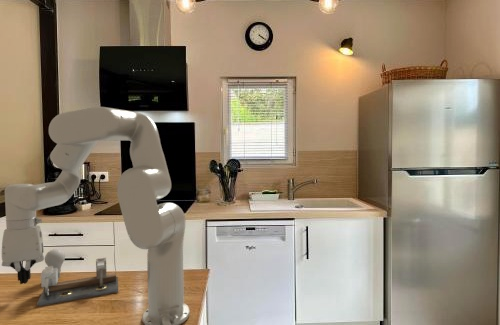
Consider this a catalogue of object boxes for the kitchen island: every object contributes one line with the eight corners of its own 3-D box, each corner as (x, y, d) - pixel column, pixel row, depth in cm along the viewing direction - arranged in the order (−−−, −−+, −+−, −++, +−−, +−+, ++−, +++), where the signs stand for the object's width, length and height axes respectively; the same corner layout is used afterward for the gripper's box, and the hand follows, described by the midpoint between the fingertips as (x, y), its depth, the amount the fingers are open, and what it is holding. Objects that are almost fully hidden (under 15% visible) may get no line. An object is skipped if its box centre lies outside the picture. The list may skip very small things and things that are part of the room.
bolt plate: (118, 292, 101) (118, 288, 101) (37, 306, 92) (37, 302, 92) (117, 279, 110) (117, 276, 110) (44, 292, 101) (44, 287, 101)
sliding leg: (54, 294, 96) (53, 272, 96) (39, 297, 94) (38, 274, 94) (58, 284, 103) (57, 264, 102) (43, 287, 101) (42, 265, 101)
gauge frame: (116, 285, 103) (115, 263, 103) (41, 298, 95) (40, 274, 94) (116, 277, 110) (115, 256, 109) (45, 288, 101) (44, 265, 101)
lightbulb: (54, 275, 114) (52, 246, 113) (69, 276, 113) (68, 246, 113) (41, 283, 108) (39, 252, 107) (57, 284, 107) (56, 252, 106)
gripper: (52, 218, 103) (54, 273, 104) (-5, 223, 97) (-2, 281, 98) (48, 224, 96) (50, 282, 97) (-14, 229, 90) (-10, 291, 91)
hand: (24, 281), depth 97 cm, fingers closed
